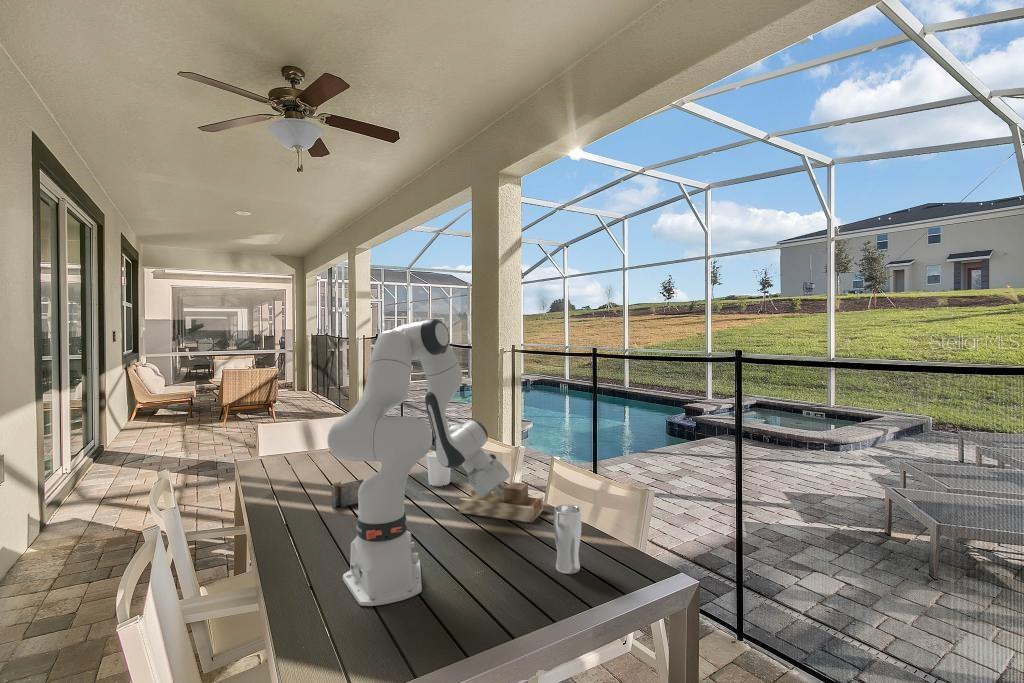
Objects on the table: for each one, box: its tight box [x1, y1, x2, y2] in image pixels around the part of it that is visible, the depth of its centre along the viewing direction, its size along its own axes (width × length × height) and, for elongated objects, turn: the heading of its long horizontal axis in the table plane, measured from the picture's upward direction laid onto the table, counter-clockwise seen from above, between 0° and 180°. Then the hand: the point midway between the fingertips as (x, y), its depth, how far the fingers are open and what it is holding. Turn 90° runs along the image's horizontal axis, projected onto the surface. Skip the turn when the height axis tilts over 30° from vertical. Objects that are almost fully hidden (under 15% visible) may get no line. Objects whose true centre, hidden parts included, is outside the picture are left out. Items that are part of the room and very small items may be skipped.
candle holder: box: [426, 450, 451, 487], centre depth 192 cm, size 10×10×12 cm
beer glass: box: [553, 504, 582, 575], centre depth 120 cm, size 7×7×15 cm
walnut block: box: [504, 481, 529, 506], centre depth 158 cm, size 6×6×8 cm
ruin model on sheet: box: [331, 479, 365, 509], centre depth 169 cm, size 11×3×10 cm, turn 133°
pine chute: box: [458, 488, 544, 523], centre depth 160 cm, size 26×11×4 cm, turn 69°
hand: (506, 497), depth 159 cm, fingers closed, pressing on walnut block
